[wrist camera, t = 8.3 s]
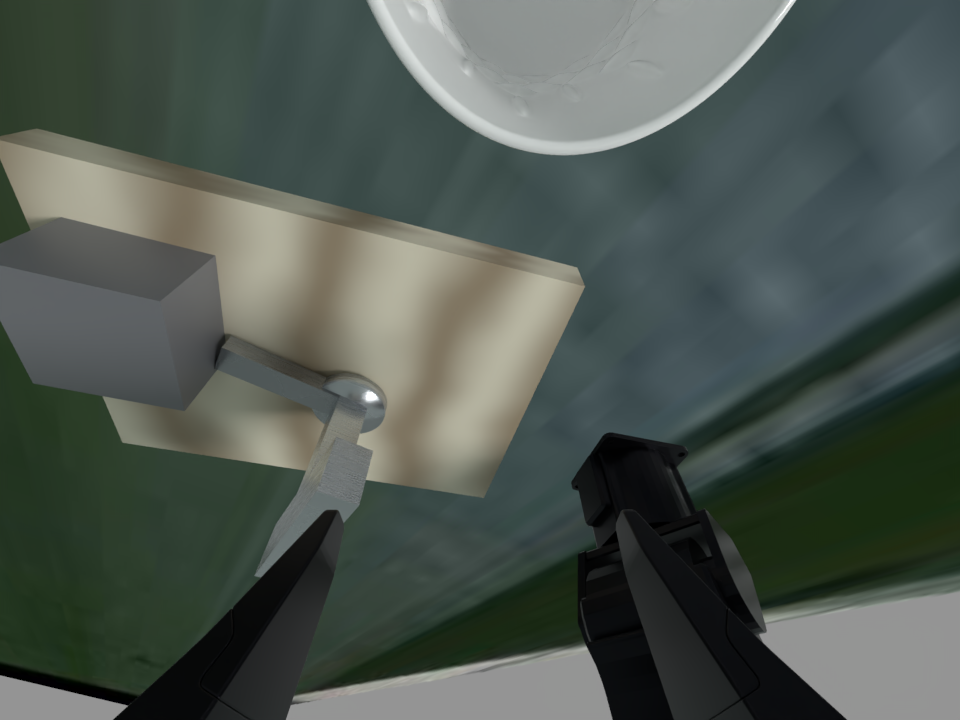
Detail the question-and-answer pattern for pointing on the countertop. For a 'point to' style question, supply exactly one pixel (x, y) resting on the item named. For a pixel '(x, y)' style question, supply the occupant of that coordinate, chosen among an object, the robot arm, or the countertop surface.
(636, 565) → the robot arm
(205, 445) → the panel
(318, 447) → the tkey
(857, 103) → the countertop surface
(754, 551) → the countertop surface
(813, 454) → the countertop surface
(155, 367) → the cover
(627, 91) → the white cup
